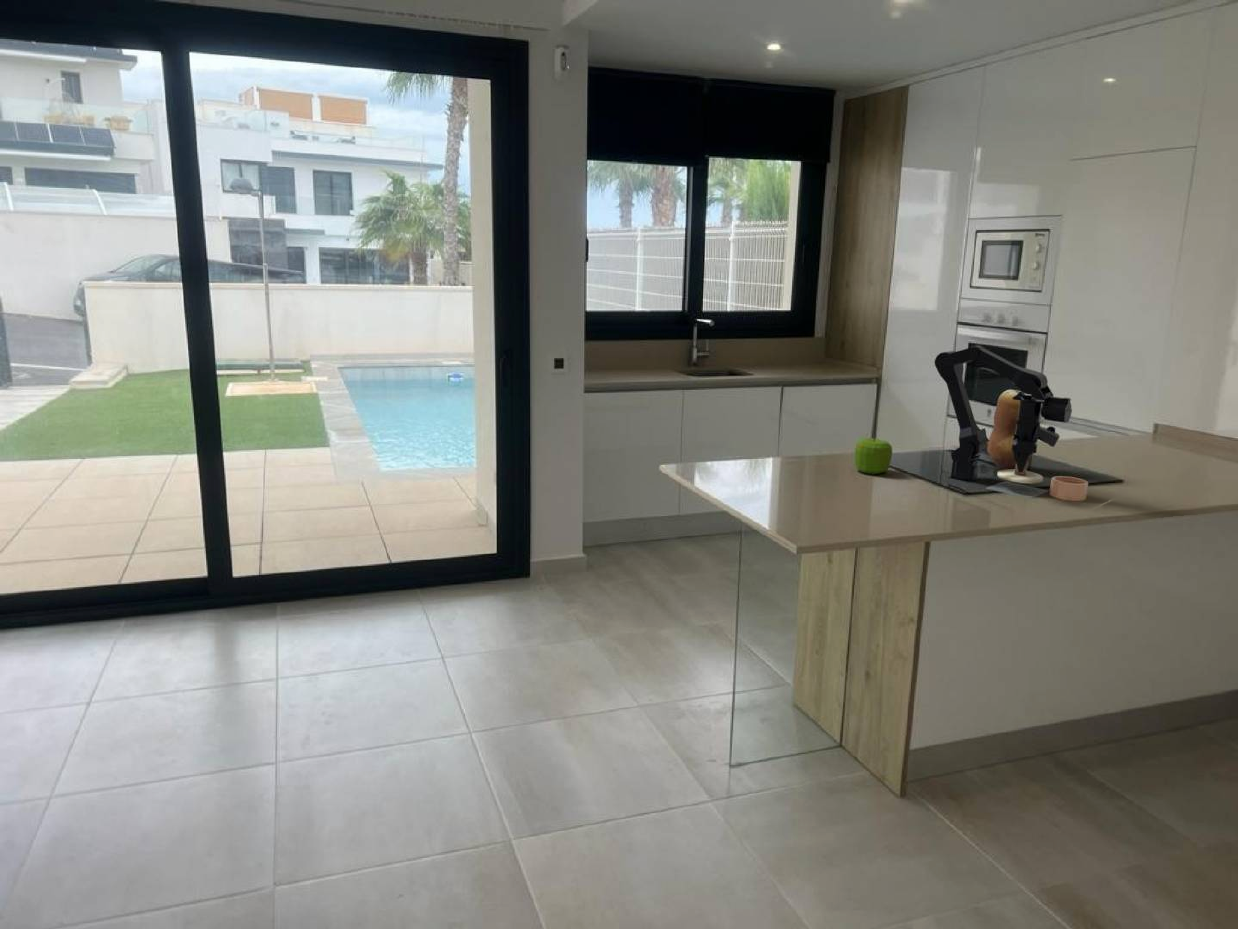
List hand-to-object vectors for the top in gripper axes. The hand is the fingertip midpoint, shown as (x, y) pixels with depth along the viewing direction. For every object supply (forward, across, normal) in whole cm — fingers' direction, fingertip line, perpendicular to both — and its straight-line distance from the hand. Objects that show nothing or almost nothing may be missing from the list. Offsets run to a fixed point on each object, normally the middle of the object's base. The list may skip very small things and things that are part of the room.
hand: (1020, 470), depth 254 cm
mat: (+6, 0, 0) cm, 6 cm away
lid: (+2, 0, 0) cm, 2 cm away
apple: (+6, -1, +41) cm, 42 cm away
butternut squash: (+6, +28, +4) cm, 28 cm away
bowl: (+6, 0, -13) cm, 14 cm away
